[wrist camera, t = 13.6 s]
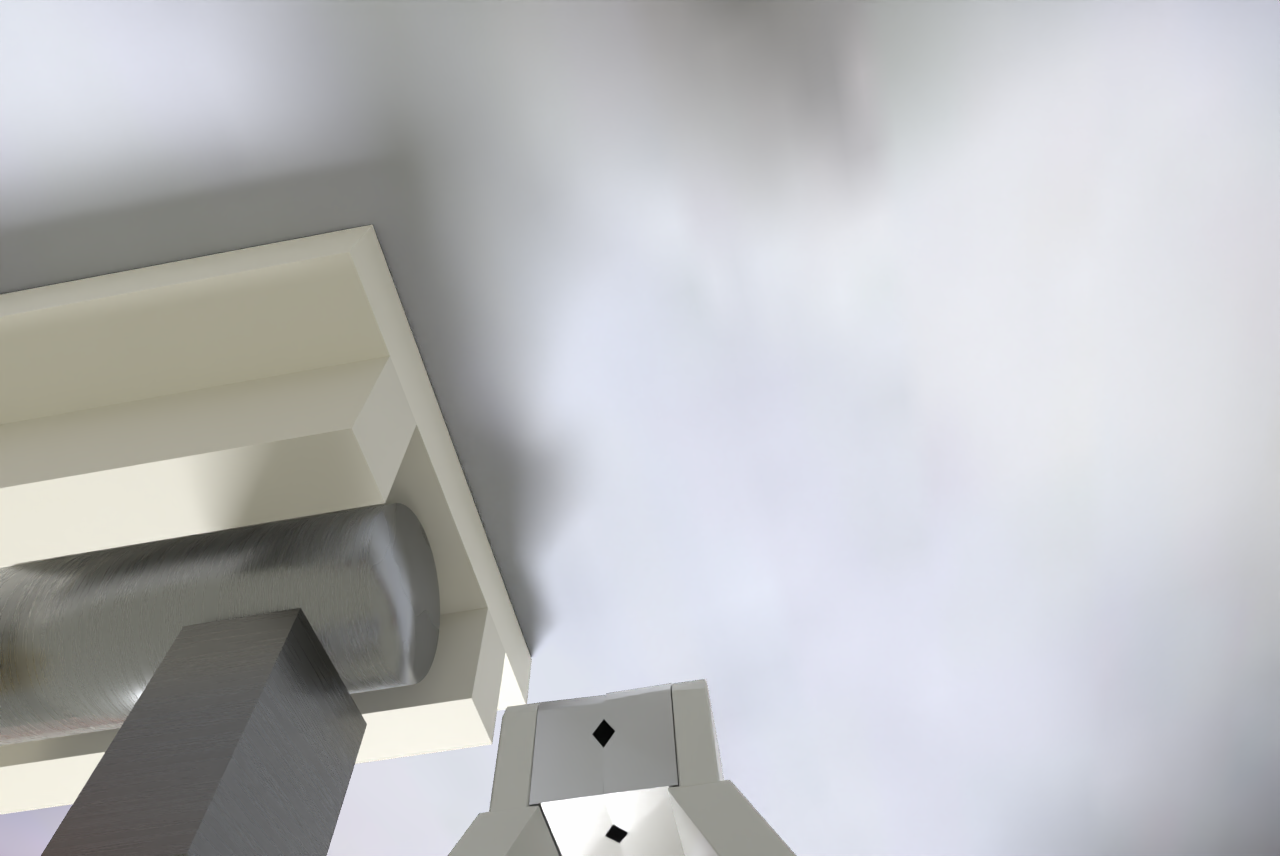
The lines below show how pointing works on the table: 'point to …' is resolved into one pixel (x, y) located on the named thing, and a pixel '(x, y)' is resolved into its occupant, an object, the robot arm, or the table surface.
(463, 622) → the cradle
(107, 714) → the shaft
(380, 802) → the table surface
